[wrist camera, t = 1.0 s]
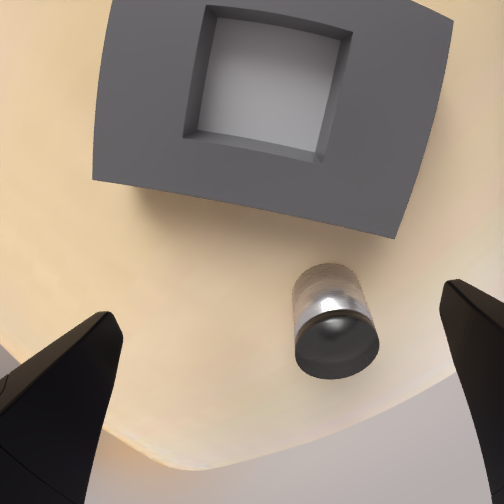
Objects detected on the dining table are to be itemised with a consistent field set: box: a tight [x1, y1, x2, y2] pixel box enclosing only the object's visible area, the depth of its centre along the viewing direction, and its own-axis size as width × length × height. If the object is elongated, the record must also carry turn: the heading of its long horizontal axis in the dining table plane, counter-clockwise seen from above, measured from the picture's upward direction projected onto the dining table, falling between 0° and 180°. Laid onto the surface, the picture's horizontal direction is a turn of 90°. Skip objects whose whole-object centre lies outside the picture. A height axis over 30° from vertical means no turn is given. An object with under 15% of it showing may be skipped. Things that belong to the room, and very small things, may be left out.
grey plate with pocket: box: [92, 0, 454, 239], centre depth 15 cm, size 16×12×4 cm
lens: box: [293, 263, 379, 379], centre depth 20 cm, size 5×5×6 cm
